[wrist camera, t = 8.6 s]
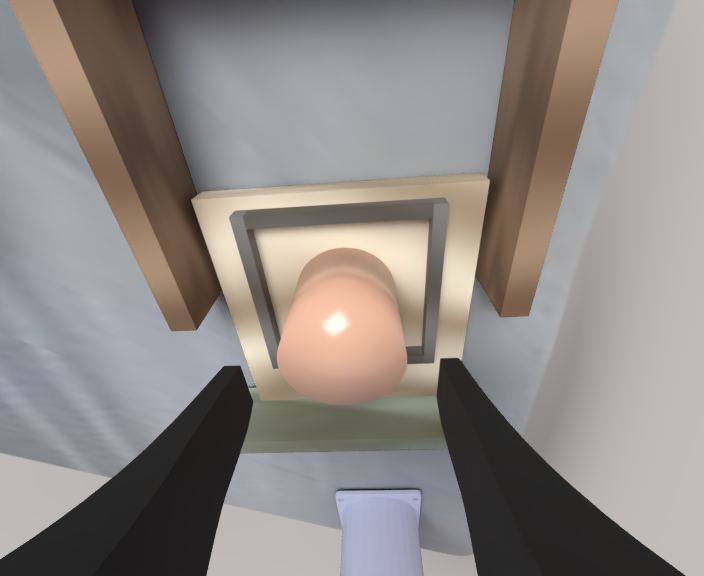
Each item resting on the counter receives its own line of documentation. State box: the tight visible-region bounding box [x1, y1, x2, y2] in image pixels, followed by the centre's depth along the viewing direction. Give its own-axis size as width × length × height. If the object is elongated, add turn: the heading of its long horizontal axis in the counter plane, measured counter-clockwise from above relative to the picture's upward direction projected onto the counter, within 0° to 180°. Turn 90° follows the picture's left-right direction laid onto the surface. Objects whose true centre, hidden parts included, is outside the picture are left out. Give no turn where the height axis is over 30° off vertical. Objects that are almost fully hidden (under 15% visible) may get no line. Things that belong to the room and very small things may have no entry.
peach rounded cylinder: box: [277, 248, 407, 405], centre depth 15 cm, size 5×5×5 cm
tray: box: [191, 173, 490, 453], centre depth 17 cm, size 15×16×4 cm
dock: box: [8, 0, 619, 331], centre depth 12 cm, size 15×16×4 cm
